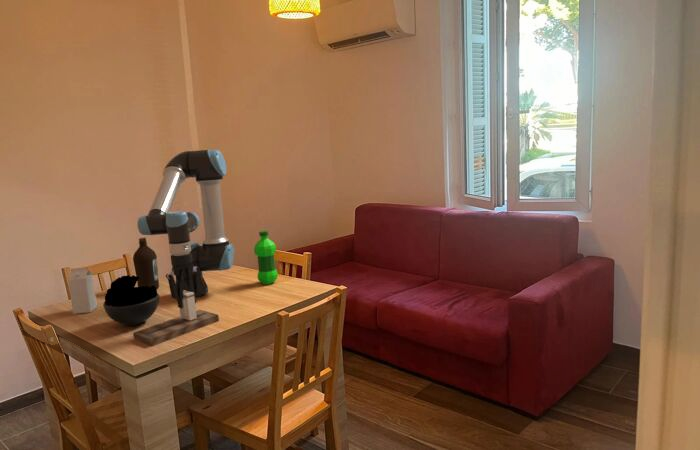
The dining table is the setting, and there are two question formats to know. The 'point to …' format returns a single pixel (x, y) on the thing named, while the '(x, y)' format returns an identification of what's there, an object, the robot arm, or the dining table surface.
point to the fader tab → (189, 305)
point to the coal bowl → (130, 301)
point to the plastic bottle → (266, 259)
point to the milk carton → (82, 290)
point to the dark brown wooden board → (174, 328)
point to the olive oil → (146, 265)
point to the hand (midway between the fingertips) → (188, 314)
